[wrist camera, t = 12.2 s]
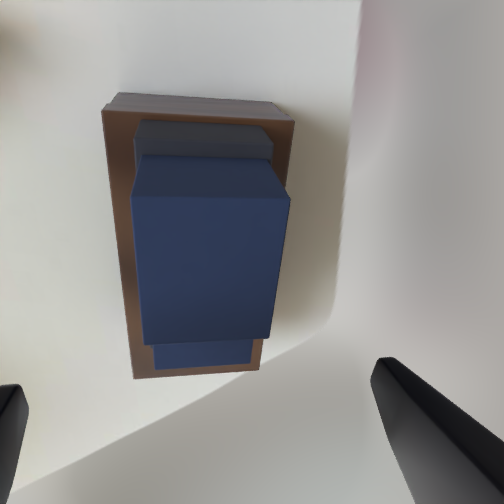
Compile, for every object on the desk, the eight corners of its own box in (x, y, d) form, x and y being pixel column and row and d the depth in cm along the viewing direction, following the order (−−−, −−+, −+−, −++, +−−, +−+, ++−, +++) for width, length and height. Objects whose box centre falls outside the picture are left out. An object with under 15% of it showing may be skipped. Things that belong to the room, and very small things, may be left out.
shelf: (117, 89, 16) (100, 110, 13) (272, 99, 18) (295, 120, 14) (139, 326, 24) (132, 380, 20) (248, 320, 25) (259, 370, 21)
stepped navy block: (139, 118, 13) (117, 176, 8) (261, 125, 14) (302, 180, 9) (153, 311, 18) (143, 417, 13) (243, 308, 19) (264, 405, 14)
